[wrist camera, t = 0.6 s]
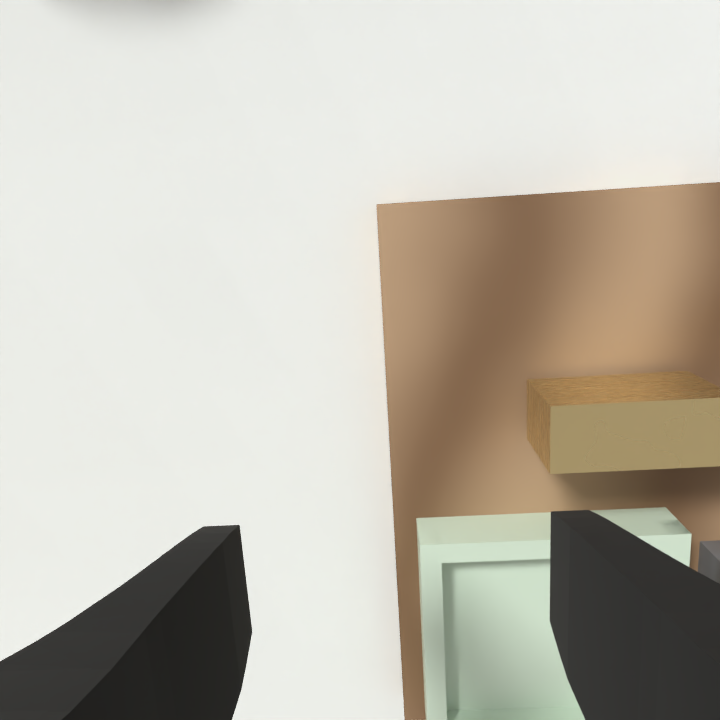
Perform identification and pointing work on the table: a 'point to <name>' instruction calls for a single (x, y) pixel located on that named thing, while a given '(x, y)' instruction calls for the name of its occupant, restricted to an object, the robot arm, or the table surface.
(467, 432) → the board
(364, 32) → the table surface
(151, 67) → the table surface
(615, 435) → the tan rectangular block
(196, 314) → the table surface
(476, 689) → the tray
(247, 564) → the table surface
